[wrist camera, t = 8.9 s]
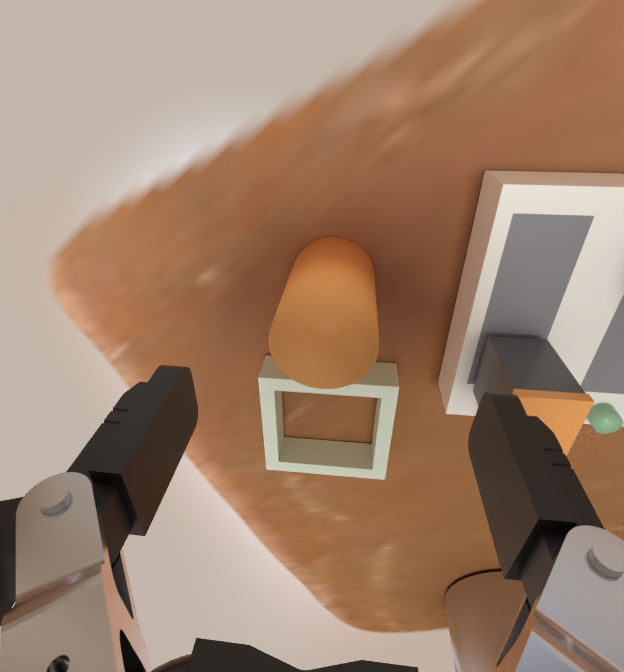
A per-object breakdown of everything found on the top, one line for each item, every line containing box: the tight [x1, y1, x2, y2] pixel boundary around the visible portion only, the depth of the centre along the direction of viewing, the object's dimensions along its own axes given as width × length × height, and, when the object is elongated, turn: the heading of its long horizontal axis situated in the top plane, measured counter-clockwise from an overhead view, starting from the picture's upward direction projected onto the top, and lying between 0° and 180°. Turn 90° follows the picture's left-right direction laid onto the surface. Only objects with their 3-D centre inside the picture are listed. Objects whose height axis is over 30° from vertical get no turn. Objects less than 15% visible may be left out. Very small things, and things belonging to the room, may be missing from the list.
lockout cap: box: [268, 237, 379, 389], centre depth 17 cm, size 4×4×6 cm
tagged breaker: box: [473, 336, 594, 456], centre depth 16 cm, size 3×2×4 cm
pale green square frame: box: [258, 355, 399, 480], centre depth 23 cm, size 7×7×2 cm
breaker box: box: [438, 170, 624, 434], centre depth 17 cm, size 11×9×3 cm
